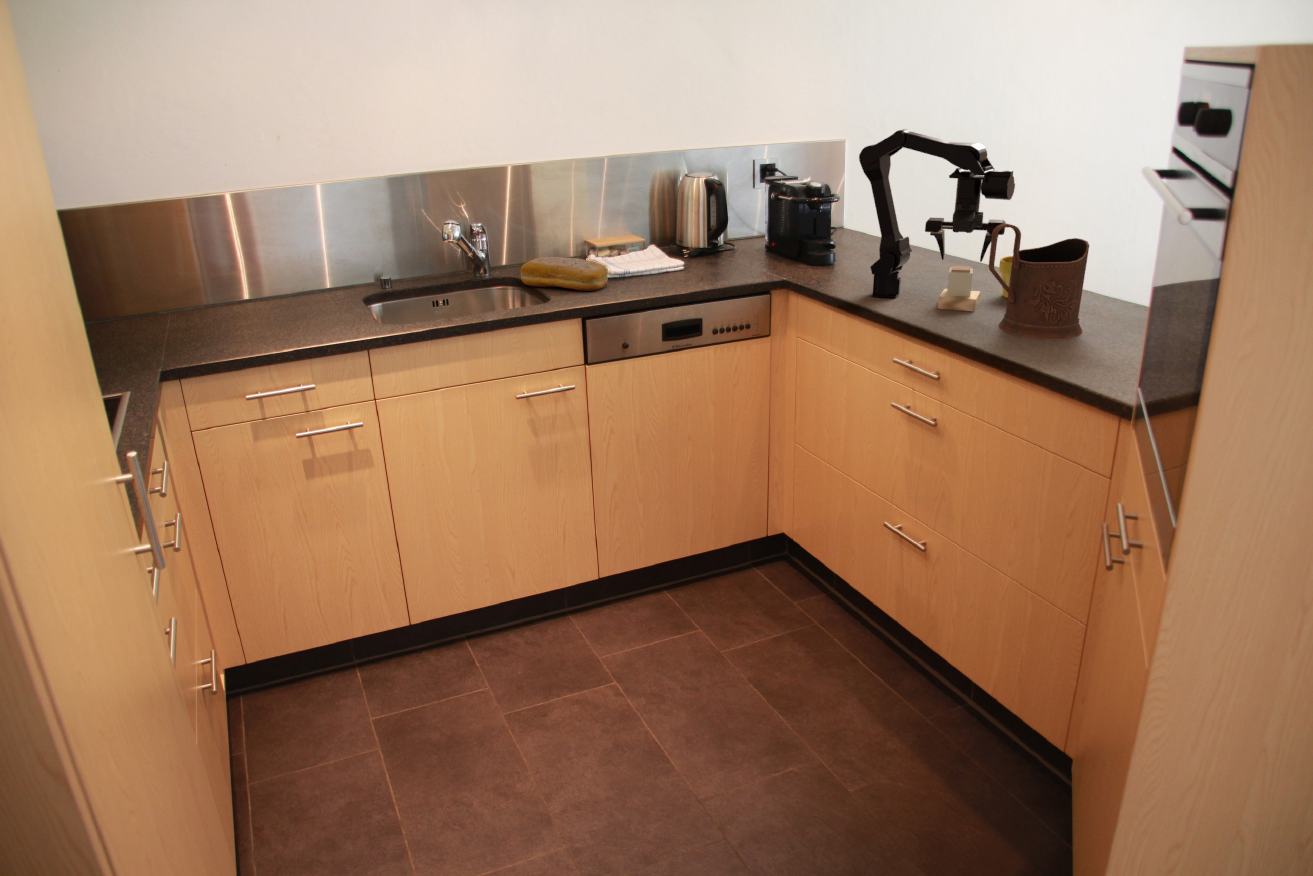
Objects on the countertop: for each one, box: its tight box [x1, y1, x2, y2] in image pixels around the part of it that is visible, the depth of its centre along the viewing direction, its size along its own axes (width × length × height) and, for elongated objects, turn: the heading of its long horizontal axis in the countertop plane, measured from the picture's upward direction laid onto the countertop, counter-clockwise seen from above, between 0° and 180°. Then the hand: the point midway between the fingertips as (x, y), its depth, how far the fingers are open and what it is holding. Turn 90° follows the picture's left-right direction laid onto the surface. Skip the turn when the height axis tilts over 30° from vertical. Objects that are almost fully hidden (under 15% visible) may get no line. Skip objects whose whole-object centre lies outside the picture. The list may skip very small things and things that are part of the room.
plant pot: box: [998, 255, 1013, 299], centre depth 244 cm, size 10×10×10 cm
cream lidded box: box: [947, 265, 974, 297], centre depth 236 cm, size 6×6×7 cm
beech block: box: [937, 288, 982, 312], centre depth 238 cm, size 9×9×4 cm
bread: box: [520, 256, 609, 292], centre depth 268 cm, size 13×26×8 cm, turn 69°
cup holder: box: [988, 223, 1090, 341], centre depth 213 cm, size 18×24×25 cm
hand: (961, 260), depth 235 cm, fingers open, 9 cm apart
